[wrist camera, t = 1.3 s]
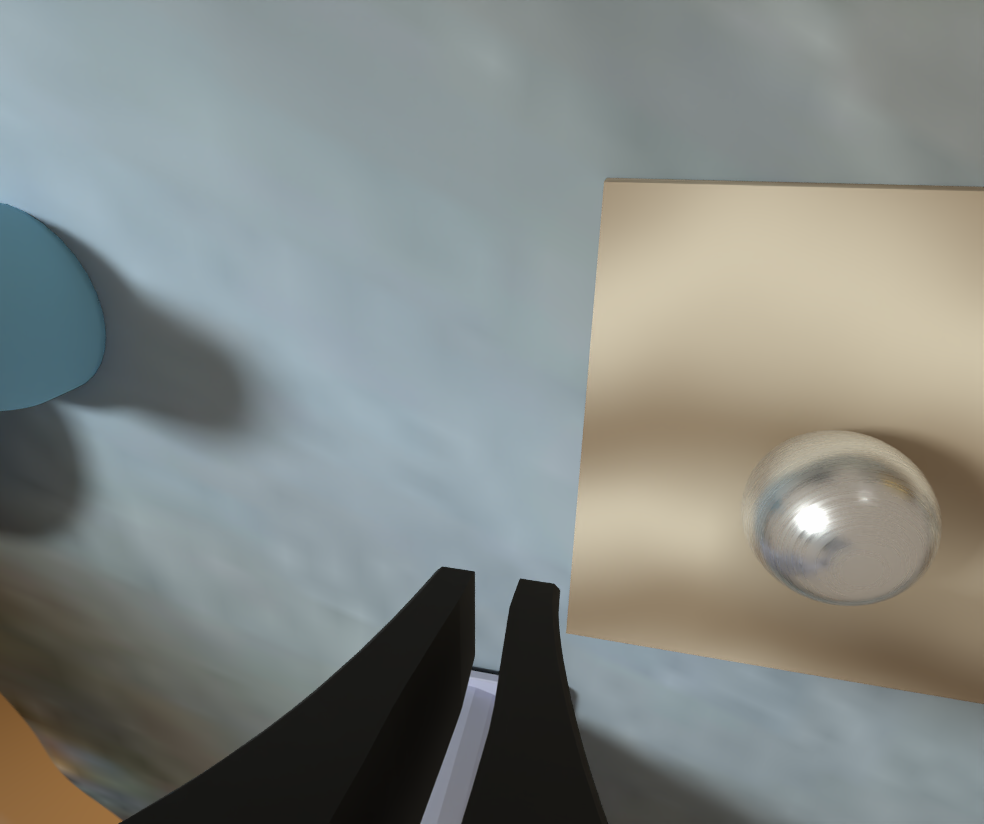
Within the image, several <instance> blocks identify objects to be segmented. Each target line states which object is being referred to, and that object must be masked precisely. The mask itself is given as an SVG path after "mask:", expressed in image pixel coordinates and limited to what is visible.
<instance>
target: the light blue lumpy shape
mask: <svg viewBox="0 0 984 824" xmlns="http://www.w3.org/2000/svg"><path fill="white" fill-rule="evenodd" d="M105 340H106V330H105V323H104V316H103V311H102V308H101V305H100V302H99V299H98V296H97V293H96V291H95V289H94V287H93V285H92V283H91V281H90V279H89V277H88V275H87V273H86V272H85V270H84V269H83V267H82V265H81V264H80V262H79V261H78V259H77V258H76V256H75V255H74V254H73V253H72V252H71V251H70V249H69V248H68V247H67V246H66V245H65V244H64V242H63V241H62V240H61V239H60V238H59V237H58V236H57V235H56V234H54V233H53V232H52V231H51V230H50V229H49V228H48V227H46V226H45V225H44V224H43V223H41V222H40V221H38V220H37V219H35V218H34V217H32V216H31V215H29V214H27V213H26V212H24V211H22V210H19V209H17V208H15V207H12V206H10V205H8V204H4V203H0V411H8V410H17V409H22V408H28V407H32V406H36V405H39V404H42V403H44V402H46V401H49V400H51V399H53V398H55V397H57V396H60V395H62V394H64V393H66V392H69V391H71V390H73V389H75V388H77V387H79V386H81V385H83V384H85V383H86V382H87V381H88V380H89V379H90V378H92V377H93V376H94V375H95V373H96V371H97V370H98V368H99V366H100V364H101V362H102V358H103V355H104V351H105Z"/></svg>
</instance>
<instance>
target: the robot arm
mask: <svg viewBox="0 0 984 824" xmlns="http://www.w3.org/2000/svg"><path fill="white" fill-rule="evenodd" d="M559 598H560V590H559V588H558V587H557V586H556V585H555V584H552V583H546V582H539V581H533V580H526V579H520V580H519V583H518V585H517V588H516V591H515V593H514V596H513V599H512V602H511V605H510V608H509V614H508V621H507V627H506V633H505V639H504V646H503V652H502V658H501V665H500V671H499V675H495V674H489V673H484V672H479V671H473V670H472V665H473V661H474V657H475V572H474V571H468V570H461V569H455V568H448V567H441V568H440V569H438V570H437V571H436V572H435V573H434V574H433V575H432V577H431V578H430V579H429V580H428V581H427V582H426V583H425V584H424V586H423V587H422V588H421V589H420V590H419V591H418V592H417V593H416V594H415V595H414V597H413V598H412V599H411V600H410V601H409V602H408V603H407V604H406V605H405V606H404V607H403V608H402V609H401V610H400V611H399V612H398V613H397V614H396V616H395V617H394V618H393V619H392V620H391V621H390V622H389V623H388V624H387V625H386V626H385V627H384V628H383V629H382V630H381V631H380V632H378V633H377V634H376V635H375V636H374V637H373V638H372V639H371V640H370V641H369V642H368V643H367V644H366V645H365V646H364V647H363V648H362V649H361V650H360V651H359V652H358V653H357V654H356V655H355V656H354V657H352V658H351V659H350V660H349V661H348V662H347V663H346V664H345V665H343V666H342V667H341V668H340V669H339V670H338V671H337V672H336V673H334V674H333V675H332V676H331V677H330V678H329V679H328V680H327V681H326V682H324V683H323V684H322V685H321V686H320V687H319V688H317V689H316V690H315V691H314V692H313V693H311V694H310V695H309V696H308V697H307V698H305V699H304V700H303V701H302V702H300V703H299V704H298V705H297V706H295V707H294V708H293V709H292V710H290V711H289V712H288V713H286V714H285V715H284V716H282V717H281V718H280V719H279V720H277V721H276V722H275V723H273V724H272V725H271V726H269V727H268V728H267V729H265V730H264V731H263V732H261V733H260V734H258V735H257V736H256V737H254V738H253V739H251V740H250V741H248V742H247V743H246V744H244V745H243V746H241V747H240V748H239V749H237V750H236V751H234V752H233V753H231V754H230V755H229V756H227V757H226V758H224V759H223V760H221V761H220V762H218V763H217V764H215V765H214V766H212V767H211V768H209V769H208V770H206V771H205V772H203V773H202V774H200V775H199V776H197V777H195V778H194V779H192V780H191V781H189V782H187V783H186V784H184V785H182V786H181V787H179V788H177V789H176V790H174V791H172V792H171V793H169V794H167V795H166V796H164V797H163V798H161V799H159V800H158V801H156V802H154V803H153V804H151V805H149V806H148V807H146V808H144V809H143V810H141V811H139V812H138V813H136V814H134V815H133V816H131V817H129V818H128V819H126V820H124V821H122V822H121V823H119V824H608V822H607V819H606V816H605V813H604V811H603V808H602V805H601V802H600V799H599V796H598V793H597V790H596V787H595V784H594V781H593V778H592V774H591V771H590V768H589V765H588V761H587V758H586V754H585V751H584V747H583V744H582V740H581V737H580V733H579V729H578V725H577V721H576V718H575V714H574V709H573V705H572V701H571V696H570V692H569V687H568V681H567V676H566V671H565V666H564V661H563V654H562V648H561V639H560V630H559V614H558V612H559Z"/></svg>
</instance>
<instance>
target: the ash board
mask: <svg viewBox="0 0 984 824" xmlns="http://www.w3.org/2000/svg"><path fill="white" fill-rule="evenodd" d="M824 430H842V431H851V432H857V433H860V434H864V435H867V436H871V437H874V438H876V439H878V440H881V441H883V442H885V443H887V444H889V445H890V446H892V447H894V448H896V449H897V450H899V451H900V452H902V453H903V454H904V455H905V456H907V457H908V458H909V459H910V460H911V461H912V462H913V463H914V464H915V465H916V466H917V467H918V468H919V469H920V470H921V471H922V473H923V474H924V476H925V477H926V479H927V480H928V481H929V483H930V484H931V486H932V488H933V490H934V493H935V495H936V497H937V500H938V503H939V507H940V511H941V520H942V533H941V540H940V545H939V548H938V551H937V554H936V556H935V558H934V560H933V562H932V564H931V565H930V567H929V568H928V570H927V571H926V573H925V574H924V575H923V576H922V577H921V578H920V579H919V580H918V581H917V582H916V583H915V584H914V585H912V586H911V587H910V588H908V589H907V590H905V591H904V592H902V593H901V594H899V595H897V596H895V597H893V598H890V599H888V600H885V601H882V602H878V603H875V604H869V605H862V606H840V605H831V604H826V603H821V602H818V601H815V600H812V599H809V598H807V597H804V596H802V595H799V594H797V593H796V592H794V591H792V590H790V589H789V588H787V587H786V586H784V585H783V584H781V583H780V582H779V581H777V580H776V579H775V578H774V577H773V576H772V575H771V574H770V573H769V572H768V571H767V570H766V569H765V568H764V567H763V566H762V565H761V563H760V562H759V561H758V560H757V558H756V557H755V555H754V553H753V552H752V550H751V548H750V546H749V544H748V541H747V539H746V536H745V533H744V529H743V524H742V518H741V504H742V496H743V492H744V488H745V485H746V483H747V480H748V478H749V476H750V474H751V472H752V471H753V469H754V468H755V466H756V465H757V464H758V462H759V461H760V460H761V459H762V458H763V457H764V456H765V455H766V454H767V453H768V452H770V451H771V450H772V449H773V448H775V447H776V446H778V445H779V444H781V443H783V442H785V441H786V440H788V439H791V438H793V437H796V436H798V435H802V434H805V433H809V432H815V431H824ZM566 633H569V634H574V635H580V636H586V637H592V638H598V639H604V640H610V641H616V642H622V643H627V644H633V645H639V646H645V647H651V648H657V649H663V650H669V651H675V652H681V653H686V654H692V655H698V656H704V657H710V658H716V659H722V660H728V661H734V662H739V663H745V664H751V665H757V666H763V667H769V668H775V669H781V670H787V671H793V672H798V673H804V674H810V675H816V676H822V677H828V678H834V679H840V680H846V681H851V682H857V683H863V684H869V685H875V686H881V687H887V688H893V689H899V690H904V691H910V692H916V693H922V694H928V695H934V696H940V697H946V698H952V699H958V700H963V701H969V702H975V703H981V704H984V187H968V186H926V185H884V184H842V183H800V182H758V181H716V180H674V179H632V178H607V179H606V180H605V181H604V191H603V203H602V215H601V226H600V238H599V250H598V262H597V274H596V286H595V298H594V309H593V321H592V333H591V345H590V357H589V369H588V381H587V392H586V404H585V416H584V428H583V440H582V452H581V464H580V475H579V487H578V499H577V511H576V523H575V535H574V547H573V558H572V570H571V582H570V594H569V606H568V618H567V630H566Z"/></svg>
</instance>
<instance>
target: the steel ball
mask: <svg viewBox="0 0 984 824" xmlns="http://www.w3.org/2000/svg"><path fill="white" fill-rule="evenodd" d="M741 518H742V524H743V529H744V533H745V536H746V539H747V541H748V544H749V546H750V548H751V550H752V552H753V553H754V555H755V557H756V558H757V560H758V561H759V562H760V563H761V565H762V566H763V567H764V568H765V569H766V570H767V571H768V572H769V573H770V574H771V575H772V576H773V577H774V578H775V579H776V580H777V581H779V582H780V583H781V584H783V585H784V586H786V587H787V588H789V589H790V590H792V591H794V592H796V593H797V594H799V595H802V596H804V597H807V598H809V599H812V600H815V601H818V602H821V603H826V604H831V605H840V606H862V605H869V604H875V603H878V602H882V601H885V600H888V599H890V598H893V597H895V596H897V595H899V594H901V593H902V592H904V591H905V590H907V589H908V588H910V587H911V586H912V585H914V584H915V583H916V582H917V581H918V580H919V579H920V578H921V577H922V576H923V575H924V574H925V573H926V571H927V570H928V568H929V567H930V565H931V564H932V562H933V560H934V558H935V556H936V554H937V551H938V548H939V545H940V540H941V533H942V520H941V511H940V507H939V503H938V500H937V497H936V495H935V493H934V490H933V488H932V486H931V484H930V483H929V481H928V480H927V479H926V477H925V476H924V474H923V473H922V471H921V470H920V469H919V468H918V467H917V466H916V465H915V464H914V463H913V462H912V461H911V460H910V459H909V458H908V457H907V456H905V455H904V454H903V453H902V452H900V451H899V450H897V449H896V448H894V447H892V446H890V445H889V444H887V443H885V442H883V441H881V440H878V439H876V438H874V437H871V436H867V435H864V434H860V433H857V432H851V431H842V430H824V431H815V432H809V433H805V434H802V435H798V436H796V437H793V438H791V439H788V440H786V441H785V442H783V443H781V444H779V445H778V446H776V447H775V448H773V449H772V450H771V451H770V452H768V453H767V454H766V455H765V456H764V457H763V458H762V459H761V460H760V461H759V462H758V464H757V465H756V466H755V468H754V469H753V471H752V472H751V474H750V476H749V478H748V480H747V483H746V485H745V488H744V492H743V496H742V504H741Z"/></svg>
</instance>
